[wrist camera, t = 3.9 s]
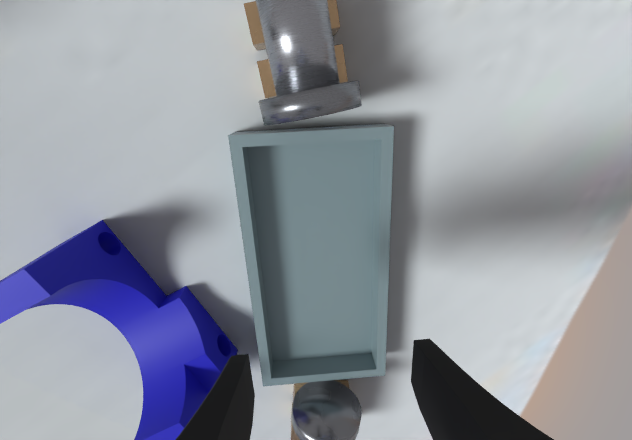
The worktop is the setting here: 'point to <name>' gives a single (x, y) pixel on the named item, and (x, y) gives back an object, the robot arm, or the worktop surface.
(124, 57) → the worktop surface
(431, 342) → the robot arm
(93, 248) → the blue bearing cap
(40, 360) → the worktop surface
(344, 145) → the grey-blue rectangular tray
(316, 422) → the shaft
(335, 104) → the shaft
